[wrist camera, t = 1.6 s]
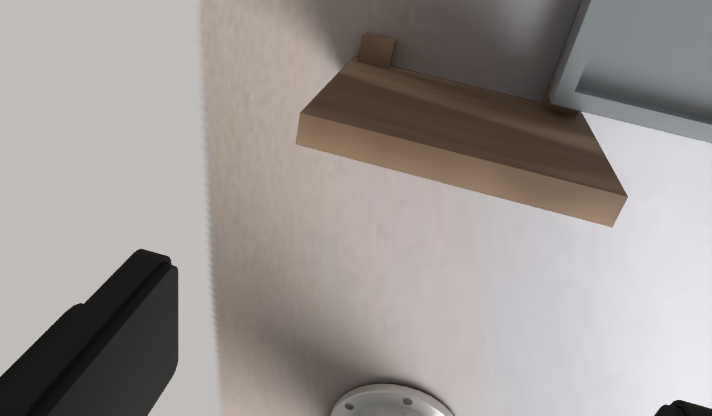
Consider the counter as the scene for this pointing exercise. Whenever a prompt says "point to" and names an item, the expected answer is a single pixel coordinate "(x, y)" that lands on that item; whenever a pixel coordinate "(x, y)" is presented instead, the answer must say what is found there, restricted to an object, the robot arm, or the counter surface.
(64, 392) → the robot arm
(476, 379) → the counter surface
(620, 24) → the slate dish
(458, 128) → the walnut board
